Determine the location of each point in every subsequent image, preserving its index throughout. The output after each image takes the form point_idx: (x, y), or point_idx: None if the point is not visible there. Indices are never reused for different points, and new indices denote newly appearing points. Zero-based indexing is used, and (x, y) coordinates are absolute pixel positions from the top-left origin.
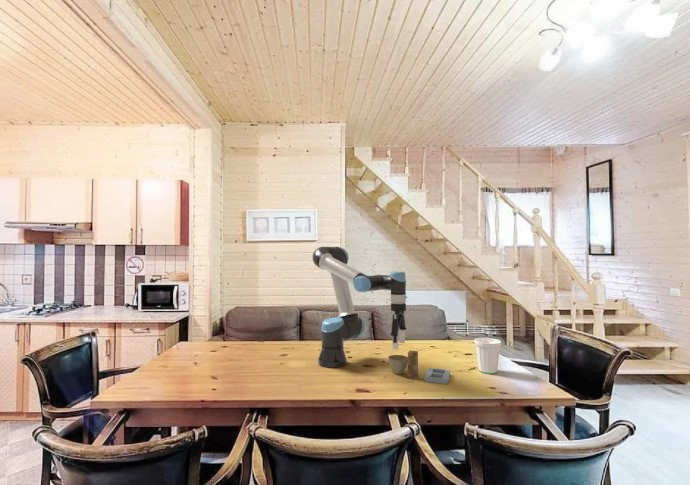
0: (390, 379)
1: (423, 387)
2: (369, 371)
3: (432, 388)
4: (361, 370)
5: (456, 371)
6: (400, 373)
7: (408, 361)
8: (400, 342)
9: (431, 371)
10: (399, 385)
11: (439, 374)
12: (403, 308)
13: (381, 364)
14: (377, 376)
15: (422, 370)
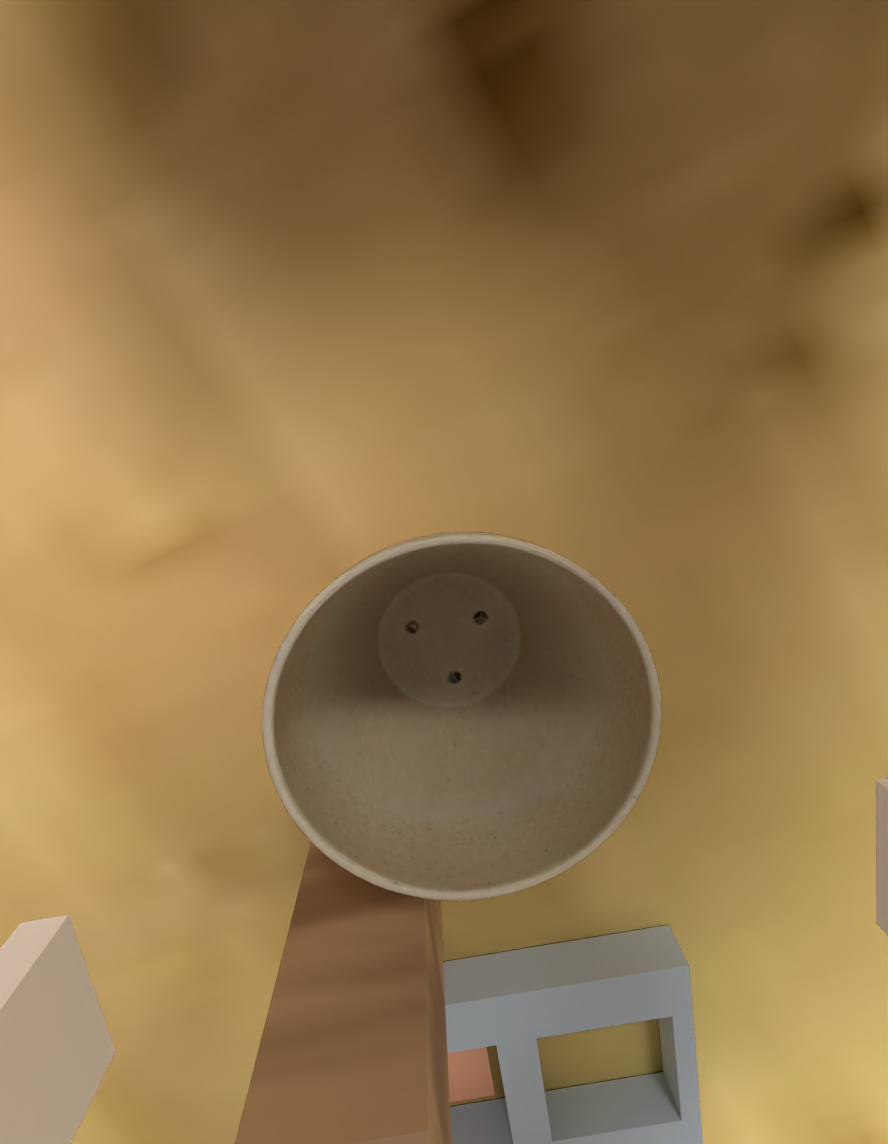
0: (148, 652)
1: (152, 1024)
2: (262, 242)
3: (183, 1093)
4: (227, 90)
5: (812, 1126)
6: (401, 687)
7: (278, 991)
8: (884, 826)
9: (557, 1025)
10: (35, 815)
11: (508, 1110)
12: None
13: (680, 259)
14: (140, 455)
15: (682, 847)
